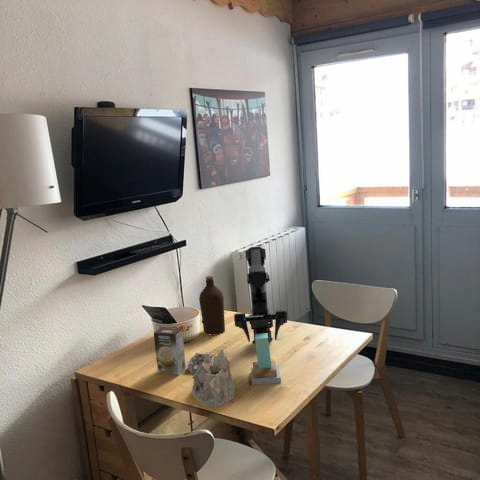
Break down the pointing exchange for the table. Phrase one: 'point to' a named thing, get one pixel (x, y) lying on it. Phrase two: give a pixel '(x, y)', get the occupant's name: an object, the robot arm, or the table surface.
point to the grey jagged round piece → (213, 381)
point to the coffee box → (169, 350)
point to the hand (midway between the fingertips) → (262, 340)
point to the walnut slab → (264, 371)
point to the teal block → (263, 350)
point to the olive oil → (212, 308)
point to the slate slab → (266, 380)
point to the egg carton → (194, 360)
